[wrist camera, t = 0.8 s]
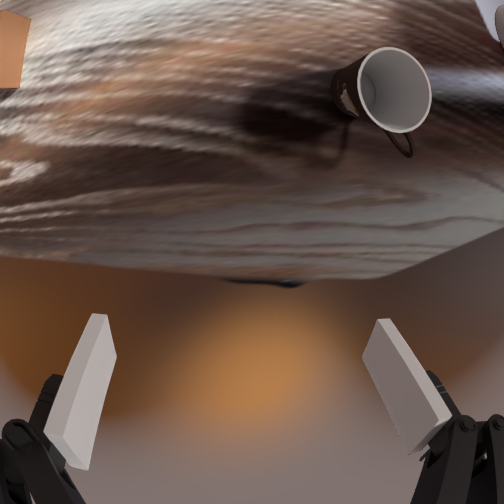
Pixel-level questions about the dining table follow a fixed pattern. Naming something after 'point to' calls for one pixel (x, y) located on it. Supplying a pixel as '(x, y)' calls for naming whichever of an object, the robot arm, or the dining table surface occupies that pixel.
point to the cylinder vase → (500, 23)
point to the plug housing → (12, 48)
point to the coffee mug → (385, 92)
